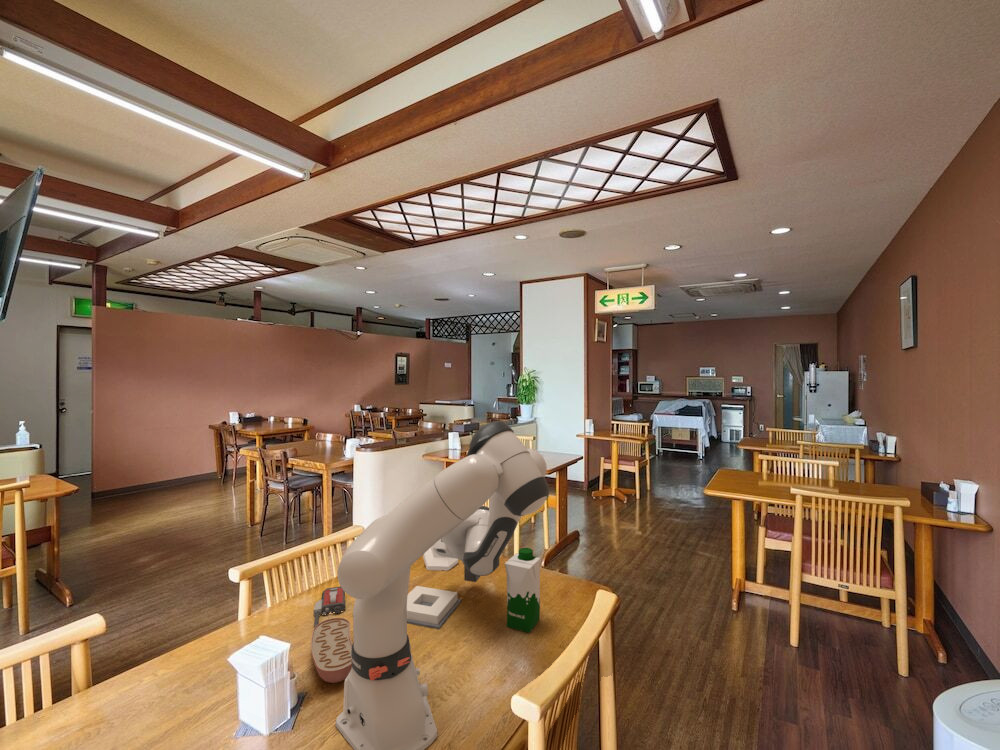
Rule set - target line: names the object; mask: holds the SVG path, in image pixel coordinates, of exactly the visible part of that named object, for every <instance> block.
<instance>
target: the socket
mask: <svg viewBox="0 0 1000 750" xmlns="http://www.w3.org/2000/svg"><path fill="white" fill-rule="evenodd" d="M462 602H463V599H462V598H459V597H458V591H451V590H445V589H440V588H439V589H438V588H432V587H428V586H427V587H426V586H420V585H416V586H415V587H414V588H413V589H412V590H411V591H410V592H408V595H407V624H409V625H416V626H420V627H424V628H425V627H426V628H431V629H436V630H440V629H441V628H442V627H443V625H444V624H445V623H446V622H447V620H448V619H449V618H450V617H451V615H452V614H453V613H454V611H455V610H456V609H457V607H458V606H459V605H460V604H461V603H462Z"/></svg>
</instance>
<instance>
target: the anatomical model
mask: <svg viewBox="0 0 1000 750" xmlns="http://www.w3.org/2000/svg"><path fill="white" fill-rule="evenodd" d="M350 630H351V622H350V621H349V620H348V619H346V618H344V617H331V618H328V619H325V620H322V621H321V622H318V625H316V626H315V628H314V627H313V630H312V634H311V637H310V638H311V640H310V652H311V655H312V656H311V657H312V660H313V663H314V666H315V669H316V672H317V674H318V675H319V677H320V678H321V679H322V680H323V681H324V682H327V683H331V684H336V683H340V682H343V681H345V679H346V677H347V676H348V674H349V673H350V671H351V669H352V664H351V651H352V644H353V641H352V638H351V631H350Z"/></svg>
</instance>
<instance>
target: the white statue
mask: <svg viewBox="0 0 1000 750" xmlns="http://www.w3.org/2000/svg"><path fill="white" fill-rule="evenodd" d="M433 548H434V545H433V546H432V547H431V548H430V549H428V550H427V551H426V552H425V553H424V554H423V555H422V558H423V561H424V564H425V567H426V570H427V571H442V570H444V571H447V572H448V571H450V570H451V569H452V568H453V567H455V566H456V565H457V564H459V559H456V558H449V557H442V556H439V555H438V554H437V553H436V552H435V550H434V549H433Z"/></svg>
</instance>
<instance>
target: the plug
mask: <svg viewBox="0 0 1000 750" xmlns="http://www.w3.org/2000/svg"><path fill="white" fill-rule="evenodd" d="M463 569H464V571H463V572H464V573H463V577H464V579H463V580H464V581H466V582H472V583H477V581H478V580H479V579H480V578H481V576H477V575H473V574H472V573H470V572H469V571H468V570H467V568H466V567H465V566H464V567H463Z"/></svg>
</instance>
